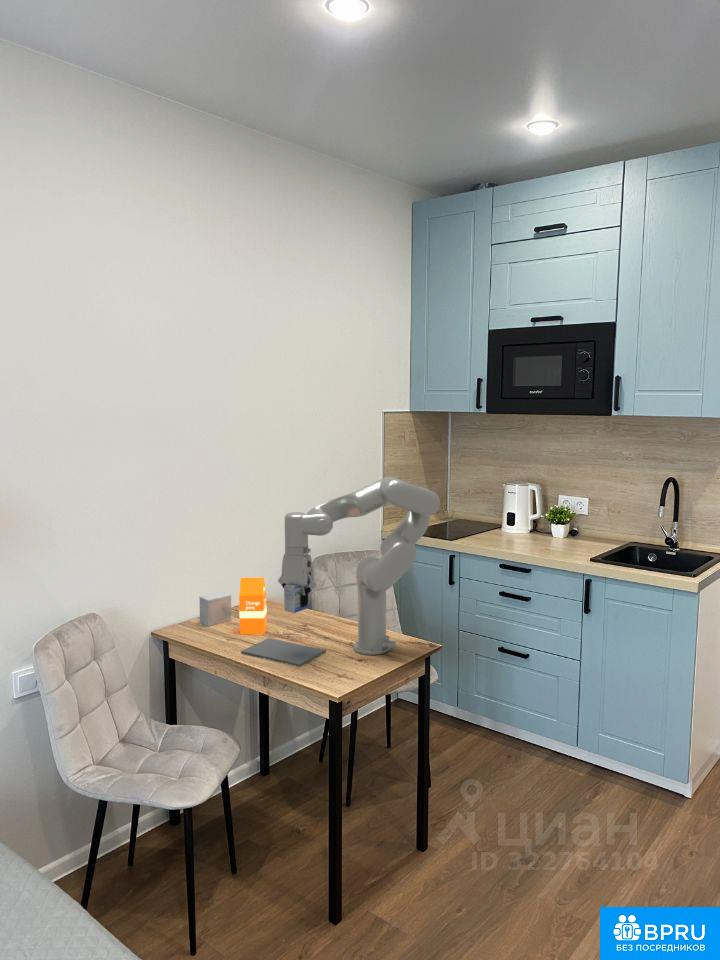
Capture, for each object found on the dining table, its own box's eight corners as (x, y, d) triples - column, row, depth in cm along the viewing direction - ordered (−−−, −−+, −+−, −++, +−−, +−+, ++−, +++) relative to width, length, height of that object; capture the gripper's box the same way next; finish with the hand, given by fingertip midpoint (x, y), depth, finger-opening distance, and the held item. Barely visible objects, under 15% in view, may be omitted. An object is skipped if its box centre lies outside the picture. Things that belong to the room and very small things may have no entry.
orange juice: (243, 627, 268) (242, 574, 266) (267, 627, 268) (266, 574, 266) (239, 634, 260) (238, 580, 258) (264, 634, 260) (263, 580, 258)
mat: (325, 652, 242) (325, 649, 242) (300, 666, 229) (300, 664, 229) (268, 640, 254) (268, 637, 254) (241, 653, 241) (241, 651, 241)
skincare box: (208, 627, 268) (207, 599, 267) (199, 623, 273) (198, 596, 272) (232, 621, 276) (231, 594, 274) (222, 617, 280) (222, 591, 279)
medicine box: (294, 613, 232) (293, 587, 231) (283, 611, 235) (283, 585, 234) (310, 607, 238) (310, 582, 237) (300, 605, 241) (299, 580, 240)
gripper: (324, 551, 233) (325, 605, 235) (282, 545, 242) (283, 598, 244) (311, 555, 227) (312, 611, 229) (268, 549, 235) (269, 604, 237)
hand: (297, 604), depth 236 cm, fingers closed on medicine box, 4 cm apart
